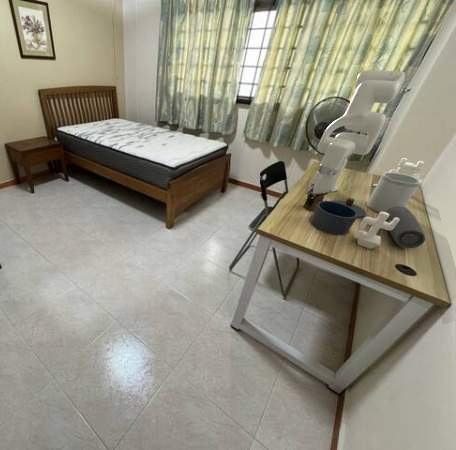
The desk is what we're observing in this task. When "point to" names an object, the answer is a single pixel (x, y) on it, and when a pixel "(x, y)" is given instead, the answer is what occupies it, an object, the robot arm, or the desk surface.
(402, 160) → the white branched piece
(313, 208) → the toy bear
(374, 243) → the figurine
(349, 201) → the pot lid
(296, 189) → the desk surface
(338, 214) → the pot
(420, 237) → the bluetooth speaker
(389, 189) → the utensil holder
